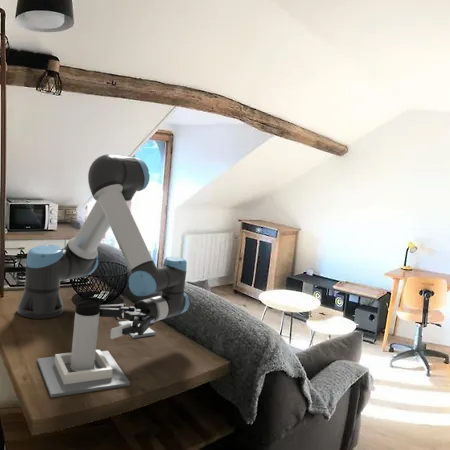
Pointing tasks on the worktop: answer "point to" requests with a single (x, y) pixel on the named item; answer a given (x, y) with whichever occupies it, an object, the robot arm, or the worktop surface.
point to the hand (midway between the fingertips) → (94, 325)
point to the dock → (80, 374)
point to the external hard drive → (146, 333)
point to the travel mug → (85, 334)
